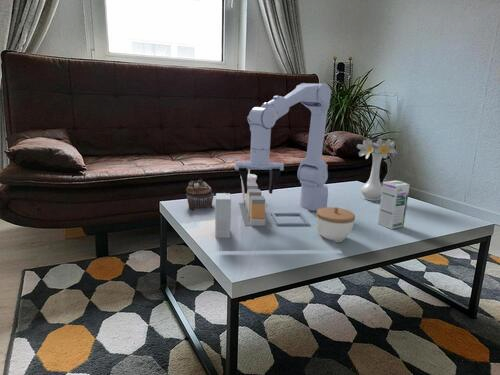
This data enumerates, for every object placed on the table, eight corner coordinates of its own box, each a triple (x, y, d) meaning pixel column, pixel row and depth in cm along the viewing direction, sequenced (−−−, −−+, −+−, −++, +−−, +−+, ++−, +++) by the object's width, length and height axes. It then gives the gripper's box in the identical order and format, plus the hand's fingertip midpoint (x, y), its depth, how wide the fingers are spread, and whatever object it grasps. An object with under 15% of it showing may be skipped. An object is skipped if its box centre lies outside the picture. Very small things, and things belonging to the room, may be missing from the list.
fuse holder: (260, 205, 128) (260, 198, 127) (270, 228, 106) (271, 219, 105) (238, 205, 127) (239, 197, 126) (245, 228, 105) (245, 220, 104)
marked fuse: (262, 219, 110) (263, 195, 108) (263, 224, 106) (265, 199, 104) (249, 219, 110) (250, 195, 108) (251, 224, 106) (252, 199, 104)
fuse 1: (255, 204, 126) (256, 183, 124) (257, 207, 122) (258, 186, 120) (244, 204, 125) (245, 183, 123) (245, 207, 121) (246, 185, 119)
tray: (300, 216, 117) (301, 212, 117) (309, 227, 107) (309, 223, 107) (271, 216, 116) (271, 212, 116) (276, 228, 106) (277, 223, 106)
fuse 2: (258, 211, 118) (259, 189, 116) (260, 215, 114) (261, 192, 112) (247, 211, 118) (247, 189, 115) (248, 215, 114) (249, 192, 112)
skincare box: (215, 232, 101) (215, 192, 98) (229, 232, 102) (230, 193, 98) (214, 240, 95) (215, 199, 92) (230, 240, 96) (231, 199, 93)
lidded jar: (328, 248, 94) (332, 215, 91) (307, 233, 103) (309, 203, 101) (359, 243, 98) (364, 211, 95) (336, 229, 107) (339, 200, 105)
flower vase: (365, 191, 153) (372, 134, 147) (399, 203, 137) (409, 140, 131) (342, 194, 147) (348, 135, 141) (375, 206, 131) (384, 141, 125)
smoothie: (256, 198, 136) (258, 163, 133) (255, 203, 130) (257, 166, 126) (240, 197, 137) (241, 162, 133) (238, 201, 131) (239, 165, 127)
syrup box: (391, 229, 109) (398, 185, 105) (376, 223, 114) (383, 180, 110) (403, 227, 111) (410, 183, 108) (389, 221, 116) (395, 179, 113)
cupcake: (198, 213, 116) (198, 185, 113) (180, 206, 122) (180, 179, 120) (219, 207, 123) (219, 180, 120) (201, 201, 129) (201, 175, 127)
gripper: (236, 150, 98) (235, 196, 101) (287, 151, 99) (283, 196, 103) (235, 146, 104) (233, 189, 108) (282, 147, 106) (279, 190, 109)
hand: (258, 192), depth 106 cm, fingers open, 7 cm apart
